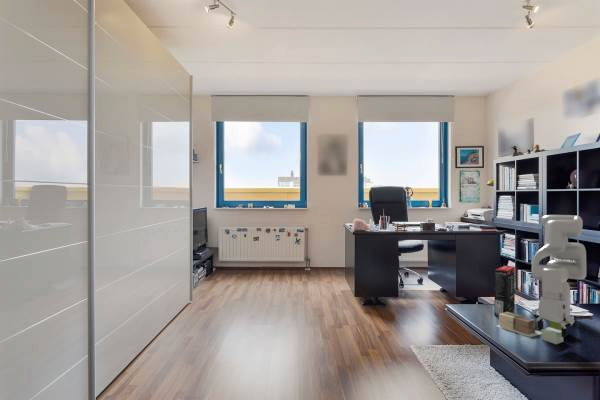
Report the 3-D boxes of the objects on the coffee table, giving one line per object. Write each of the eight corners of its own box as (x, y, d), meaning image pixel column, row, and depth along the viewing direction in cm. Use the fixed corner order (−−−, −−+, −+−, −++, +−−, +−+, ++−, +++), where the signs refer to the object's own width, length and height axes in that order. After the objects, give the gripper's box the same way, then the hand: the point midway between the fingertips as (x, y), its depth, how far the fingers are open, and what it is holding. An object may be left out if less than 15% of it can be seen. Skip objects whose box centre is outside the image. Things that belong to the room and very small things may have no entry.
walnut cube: (522, 328, 175) (522, 316, 175) (535, 332, 169) (535, 319, 169) (515, 330, 172) (515, 318, 172) (528, 334, 166) (528, 321, 166)
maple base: (507, 323, 182) (507, 311, 182) (521, 327, 176) (520, 315, 176) (499, 325, 179) (498, 313, 179) (512, 329, 172) (512, 317, 172)
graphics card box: (502, 310, 206) (502, 264, 206) (516, 313, 201) (515, 266, 201) (494, 317, 194) (493, 269, 194) (508, 320, 189) (507, 270, 189)
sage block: (548, 339, 163) (548, 327, 163) (563, 344, 158) (563, 331, 158) (541, 342, 160) (541, 329, 160) (556, 347, 155) (556, 333, 155)
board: (508, 324, 183) (508, 322, 183) (543, 335, 168) (543, 332, 168) (495, 328, 178) (495, 325, 178) (530, 339, 163) (530, 337, 163)
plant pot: (564, 340, 162) (564, 321, 162) (542, 333, 170) (542, 316, 170) (574, 336, 166) (574, 318, 166) (553, 330, 174) (552, 313, 175)
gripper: (578, 299, 153) (578, 338, 153) (536, 290, 168) (536, 326, 168) (569, 301, 150) (569, 341, 149) (527, 292, 165) (527, 328, 164)
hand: (552, 333), depth 159 cm, fingers open, 9 cm apart
